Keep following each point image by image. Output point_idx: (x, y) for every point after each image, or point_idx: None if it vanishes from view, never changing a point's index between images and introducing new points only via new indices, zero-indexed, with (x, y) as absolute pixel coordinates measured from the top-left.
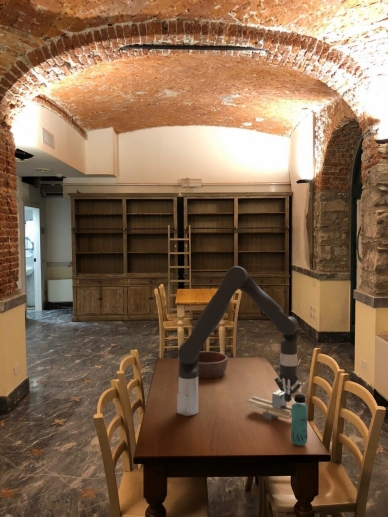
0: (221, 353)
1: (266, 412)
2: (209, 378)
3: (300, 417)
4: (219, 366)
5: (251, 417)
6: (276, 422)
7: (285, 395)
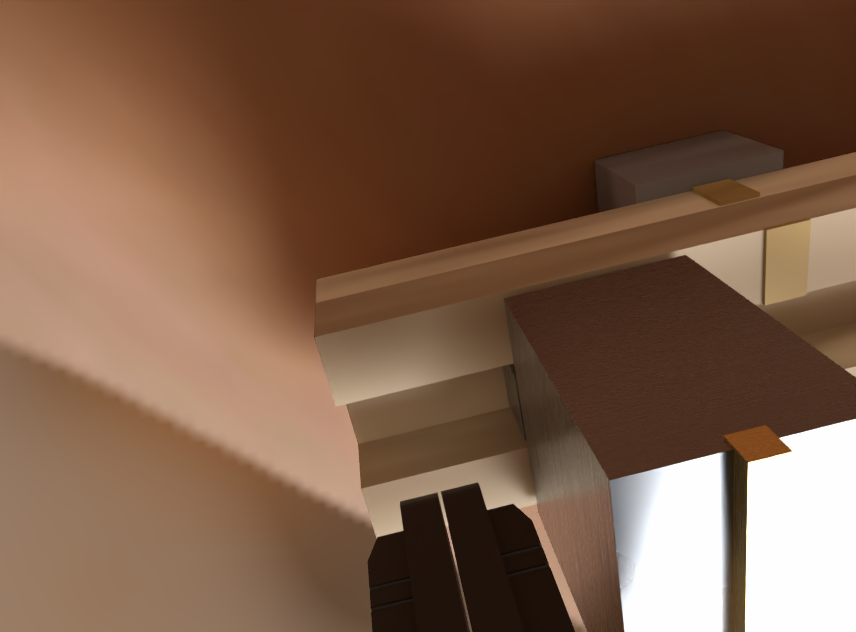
0: None
1: (727, 179)
2: None
3: None
4: None
5: None
6: (512, 197)
7: (513, 597)
